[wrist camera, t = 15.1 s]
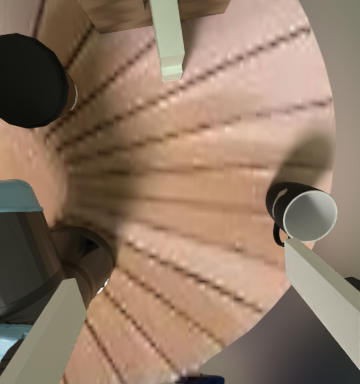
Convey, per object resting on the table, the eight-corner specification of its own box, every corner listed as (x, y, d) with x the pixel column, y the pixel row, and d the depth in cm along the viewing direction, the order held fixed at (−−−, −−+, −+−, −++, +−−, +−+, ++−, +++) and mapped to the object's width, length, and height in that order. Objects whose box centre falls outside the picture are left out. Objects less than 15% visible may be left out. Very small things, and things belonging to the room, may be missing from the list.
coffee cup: (16, 109, 41) (-42, 104, 29) (36, 44, 39) (-19, 10, 27) (79, 138, 43) (48, 143, 31) (101, 77, 41) (77, 59, 29)
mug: (269, 170, 47) (297, 183, 37) (310, 183, 48) (348, 198, 38) (246, 226, 50) (267, 252, 40) (286, 237, 51) (315, 264, 41)
